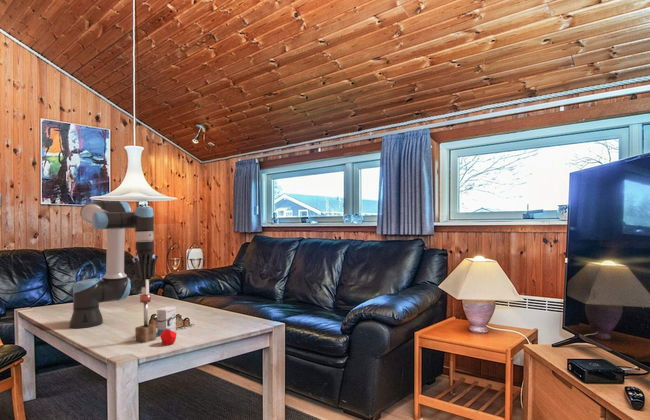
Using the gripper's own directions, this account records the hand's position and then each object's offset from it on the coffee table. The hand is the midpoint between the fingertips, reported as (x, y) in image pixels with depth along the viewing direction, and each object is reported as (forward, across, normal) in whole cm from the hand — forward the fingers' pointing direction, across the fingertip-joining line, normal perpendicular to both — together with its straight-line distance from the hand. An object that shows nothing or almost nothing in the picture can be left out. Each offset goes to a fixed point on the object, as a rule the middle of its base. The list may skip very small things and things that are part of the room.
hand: (145, 294), depth 185 cm
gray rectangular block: (+20, +24, 0) cm, 32 cm away
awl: (+15, 0, 0) cm, 15 cm away
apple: (+21, 0, -13) cm, 25 cm away
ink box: (+21, +13, 0) cm, 24 cm away
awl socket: (+20, 0, 0) cm, 20 cm away
